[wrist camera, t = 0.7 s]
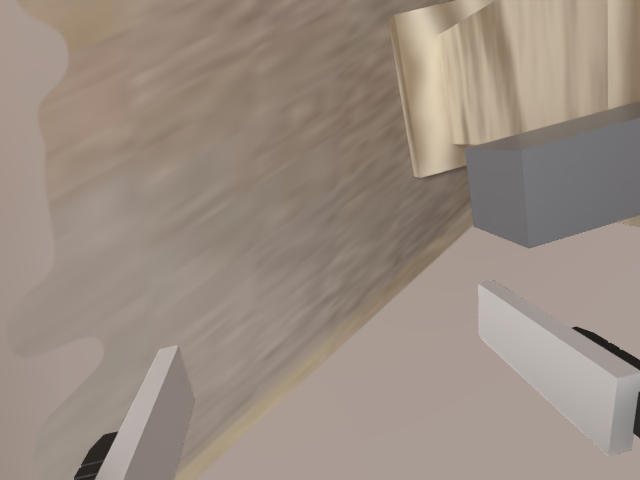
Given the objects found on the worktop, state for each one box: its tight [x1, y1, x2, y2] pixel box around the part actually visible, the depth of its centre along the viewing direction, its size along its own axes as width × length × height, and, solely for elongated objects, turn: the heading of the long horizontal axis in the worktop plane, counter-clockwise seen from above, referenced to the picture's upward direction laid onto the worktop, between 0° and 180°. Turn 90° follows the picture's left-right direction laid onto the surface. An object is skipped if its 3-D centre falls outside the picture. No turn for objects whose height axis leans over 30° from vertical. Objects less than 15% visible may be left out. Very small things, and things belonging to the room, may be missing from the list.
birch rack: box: [388, 0, 640, 227], centre depth 30 cm, size 12×18×29 cm
